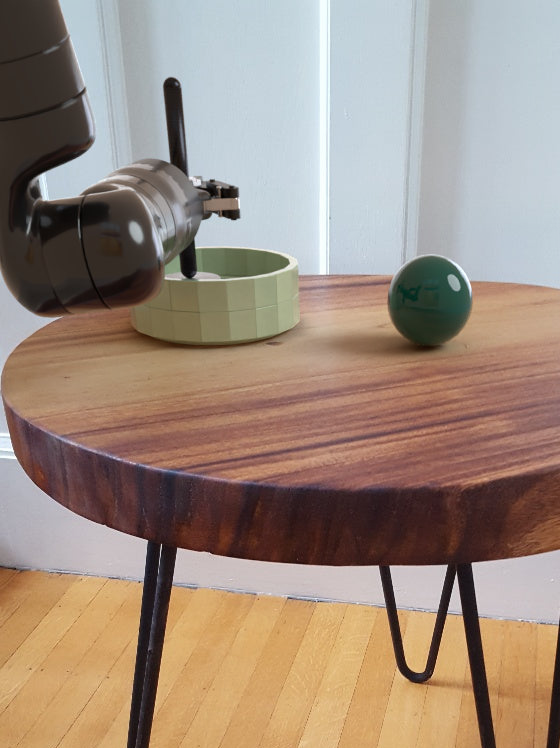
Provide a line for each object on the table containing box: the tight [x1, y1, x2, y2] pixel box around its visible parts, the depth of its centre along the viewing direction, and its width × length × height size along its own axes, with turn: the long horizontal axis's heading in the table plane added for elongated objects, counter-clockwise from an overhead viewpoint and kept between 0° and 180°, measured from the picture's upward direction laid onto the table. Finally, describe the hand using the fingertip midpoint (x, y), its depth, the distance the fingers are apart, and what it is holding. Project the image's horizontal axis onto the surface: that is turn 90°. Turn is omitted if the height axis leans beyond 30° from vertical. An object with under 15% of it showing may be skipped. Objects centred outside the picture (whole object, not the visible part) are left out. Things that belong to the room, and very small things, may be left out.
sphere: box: [387, 253, 474, 347], centre depth 89 cm, size 8×8×8 cm
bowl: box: [128, 245, 301, 346], centre depth 94 cm, size 17×17×6 cm
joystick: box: [162, 76, 221, 280], centre depth 89 cm, size 6×6×20 cm
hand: (187, 188), depth 91 cm, fingers closed on joystick
